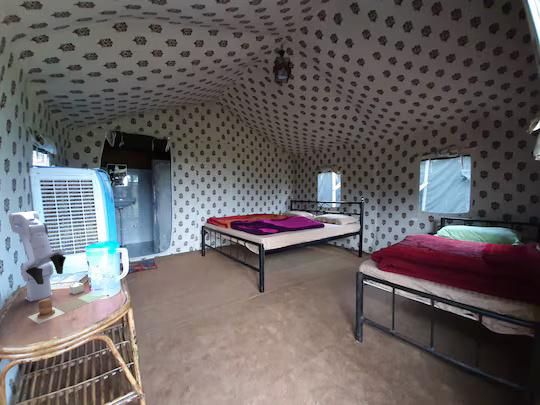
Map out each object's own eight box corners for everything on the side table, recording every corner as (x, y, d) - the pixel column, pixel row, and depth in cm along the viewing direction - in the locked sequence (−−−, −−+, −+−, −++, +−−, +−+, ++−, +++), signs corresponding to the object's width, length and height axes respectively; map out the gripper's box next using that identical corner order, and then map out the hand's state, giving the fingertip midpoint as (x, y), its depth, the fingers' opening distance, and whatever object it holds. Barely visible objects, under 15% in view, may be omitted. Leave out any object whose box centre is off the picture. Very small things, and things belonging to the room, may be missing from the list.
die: (70, 293, 118) (69, 285, 117) (80, 290, 121) (79, 282, 121) (74, 295, 116) (73, 287, 115) (84, 292, 119) (83, 284, 119)
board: (27, 318, 98) (27, 317, 98) (97, 291, 120) (97, 290, 120) (38, 325, 93) (38, 323, 93) (108, 295, 115) (108, 294, 115)
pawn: (35, 316, 98) (33, 302, 97) (51, 310, 102) (49, 296, 102) (41, 320, 95) (39, 305, 95) (57, 313, 100) (55, 299, 99)
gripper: (14, 257, 98) (22, 288, 94) (51, 238, 101) (60, 268, 97) (30, 259, 105) (38, 288, 101) (65, 242, 107) (74, 269, 104)
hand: (50, 278), depth 99 cm, fingers open, 7 cm apart
